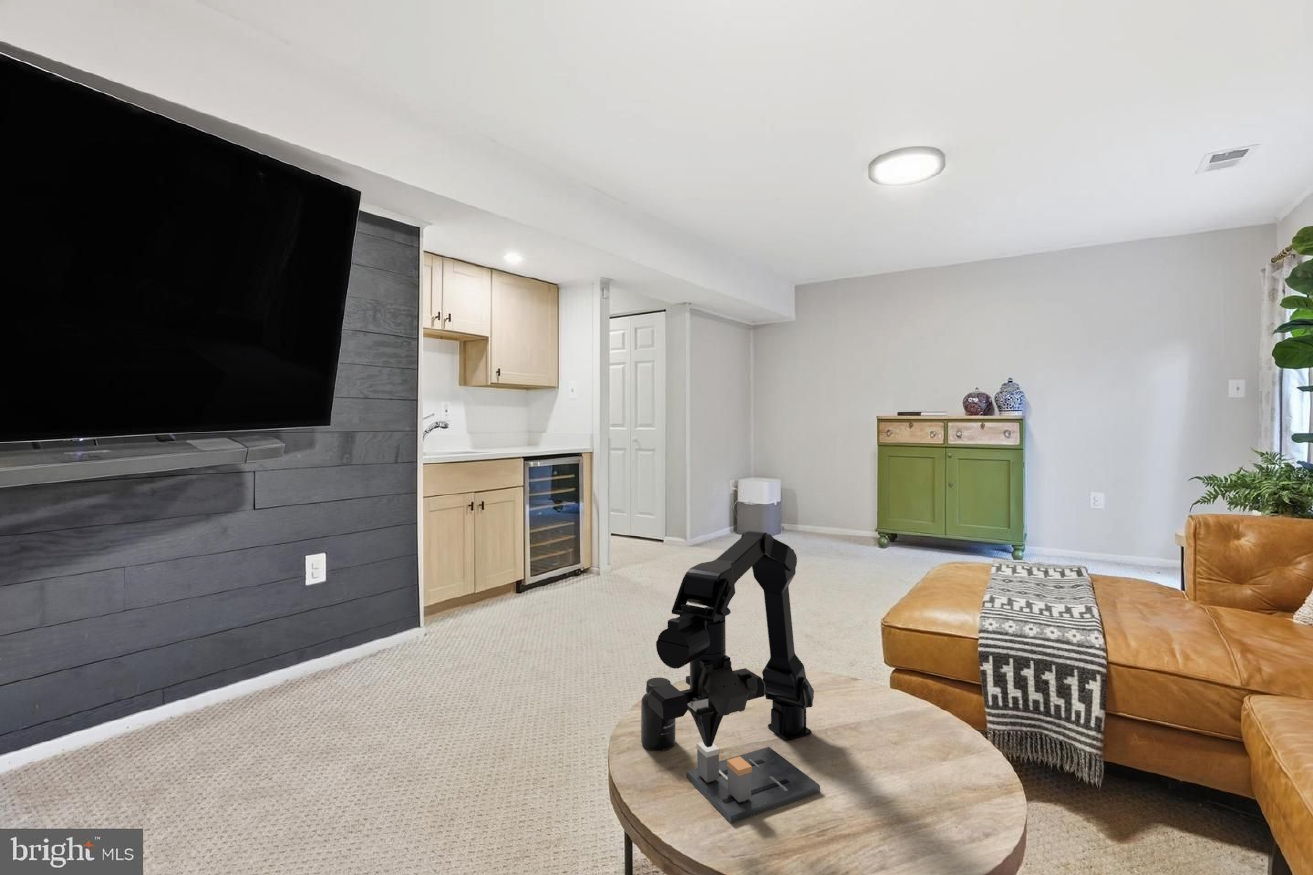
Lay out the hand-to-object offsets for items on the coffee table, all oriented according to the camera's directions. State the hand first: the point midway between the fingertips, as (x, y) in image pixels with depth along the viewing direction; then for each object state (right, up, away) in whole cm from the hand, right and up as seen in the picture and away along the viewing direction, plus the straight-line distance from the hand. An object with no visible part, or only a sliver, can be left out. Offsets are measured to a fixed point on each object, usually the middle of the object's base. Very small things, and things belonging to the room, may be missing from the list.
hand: (708, 745), depth 94 cm
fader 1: (+1, -9, +8) cm, 12 cm away
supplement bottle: (-8, -11, +22) cm, 26 cm away
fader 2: (+5, -9, +3) cm, 11 cm away
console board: (+8, -11, +8) cm, 16 cm away
